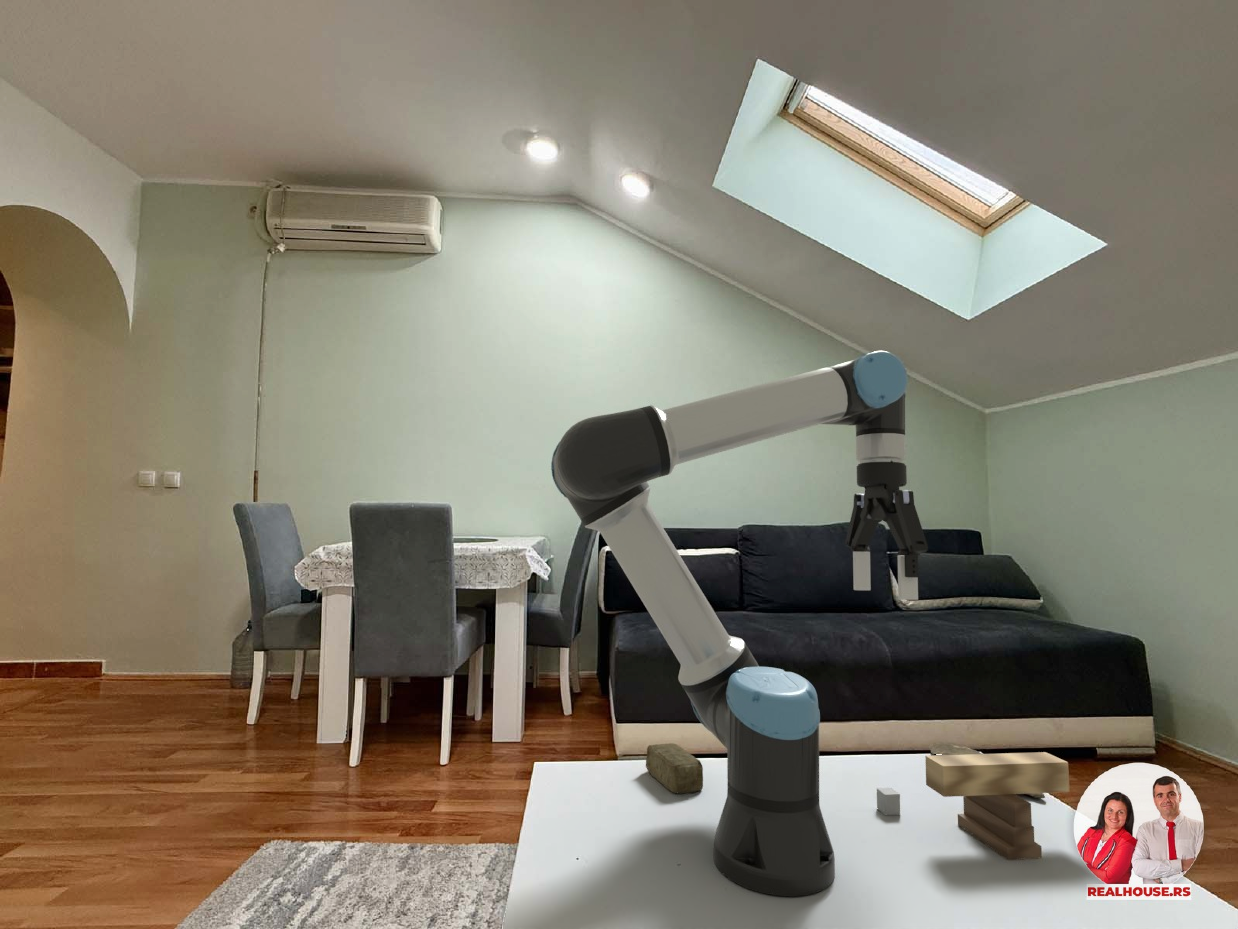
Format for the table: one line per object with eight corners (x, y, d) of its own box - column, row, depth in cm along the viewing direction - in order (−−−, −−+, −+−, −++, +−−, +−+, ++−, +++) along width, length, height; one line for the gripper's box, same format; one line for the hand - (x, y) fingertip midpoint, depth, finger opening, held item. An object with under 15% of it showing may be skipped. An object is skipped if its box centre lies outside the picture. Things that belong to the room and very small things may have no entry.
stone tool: (1050, 805, 102) (970, 751, 127) (1049, 786, 102) (970, 736, 127) (980, 803, 103) (914, 750, 127) (979, 785, 103) (914, 735, 128)
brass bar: (943, 796, 87) (943, 766, 87) (926, 785, 91) (925, 755, 91) (1069, 792, 89) (1068, 762, 90) (1046, 780, 93) (1045, 752, 94)
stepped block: (1007, 860, 84) (1005, 804, 85) (957, 824, 94) (956, 775, 95) (1041, 858, 85) (1039, 803, 85) (989, 823, 95) (987, 774, 95)
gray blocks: (885, 815, 97) (885, 794, 97) (877, 808, 99) (876, 788, 99) (990, 811, 99) (989, 790, 99) (980, 804, 101) (979, 784, 101)
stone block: (674, 798, 102) (674, 765, 102) (643, 772, 112) (643, 743, 113) (705, 793, 104) (706, 761, 104) (672, 768, 114) (672, 739, 115)
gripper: (951, 455, 92) (956, 604, 90) (863, 469, 117) (865, 587, 115) (903, 453, 91) (906, 604, 89) (824, 468, 116) (826, 586, 114)
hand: (883, 594), depth 102 cm, fingers open, 13 cm apart
